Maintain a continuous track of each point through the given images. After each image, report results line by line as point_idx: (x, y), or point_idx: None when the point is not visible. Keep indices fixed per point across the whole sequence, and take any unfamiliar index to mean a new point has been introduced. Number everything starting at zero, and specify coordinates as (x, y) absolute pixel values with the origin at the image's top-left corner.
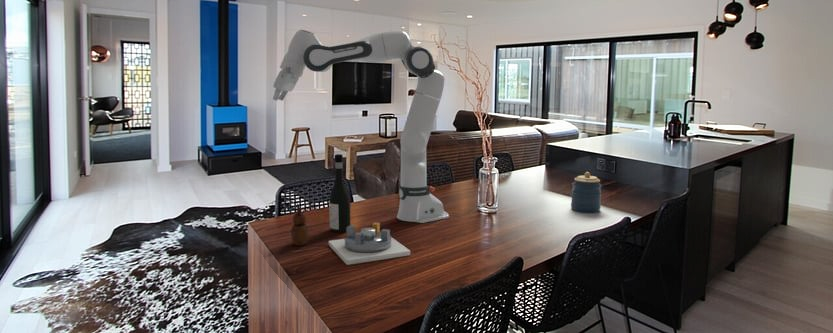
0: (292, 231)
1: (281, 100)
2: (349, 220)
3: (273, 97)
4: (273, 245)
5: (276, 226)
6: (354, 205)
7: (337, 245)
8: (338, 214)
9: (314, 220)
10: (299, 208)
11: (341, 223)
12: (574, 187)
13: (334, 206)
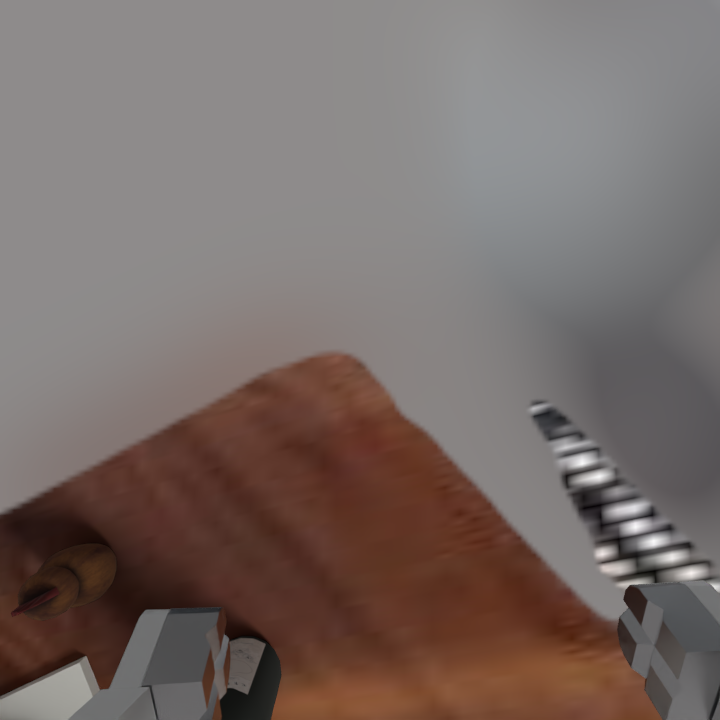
0: (47, 559)
1: (620, 630)
2: None
3: (134, 635)
4: (89, 481)
5: (297, 433)
6: (605, 672)
7: (30, 700)
8: None
9: (373, 551)
10: (14, 613)
11: None
12: None
13: None
